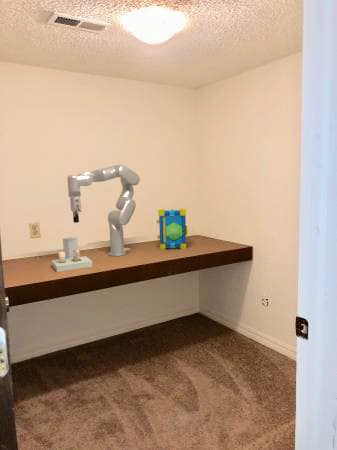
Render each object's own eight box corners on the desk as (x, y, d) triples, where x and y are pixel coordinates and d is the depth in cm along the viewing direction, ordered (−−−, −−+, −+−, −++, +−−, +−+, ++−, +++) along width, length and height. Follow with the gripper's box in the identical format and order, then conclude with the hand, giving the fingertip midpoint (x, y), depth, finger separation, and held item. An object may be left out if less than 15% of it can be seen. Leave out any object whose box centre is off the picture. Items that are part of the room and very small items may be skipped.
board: (85, 261, 246) (85, 246, 245) (92, 266, 232) (91, 251, 231) (52, 265, 236) (51, 250, 235) (57, 271, 222) (55, 255, 221)
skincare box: (69, 260, 248) (68, 239, 246) (63, 259, 252) (62, 238, 249) (78, 258, 255) (77, 237, 253) (72, 257, 259) (71, 236, 256)
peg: (79, 264, 238) (78, 249, 237) (80, 265, 235) (80, 250, 233) (73, 265, 236) (72, 250, 235) (74, 266, 233) (73, 251, 231)
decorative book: (187, 250, 272) (187, 210, 268) (157, 250, 273) (155, 210, 268) (187, 245, 287) (186, 207, 282) (157, 246, 287) (156, 208, 282)
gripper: (83, 194, 231) (85, 223, 234) (77, 193, 244) (79, 220, 247) (71, 195, 228) (73, 224, 230) (66, 194, 241) (68, 221, 244)
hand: (76, 222), depth 239 cm, fingers closed
